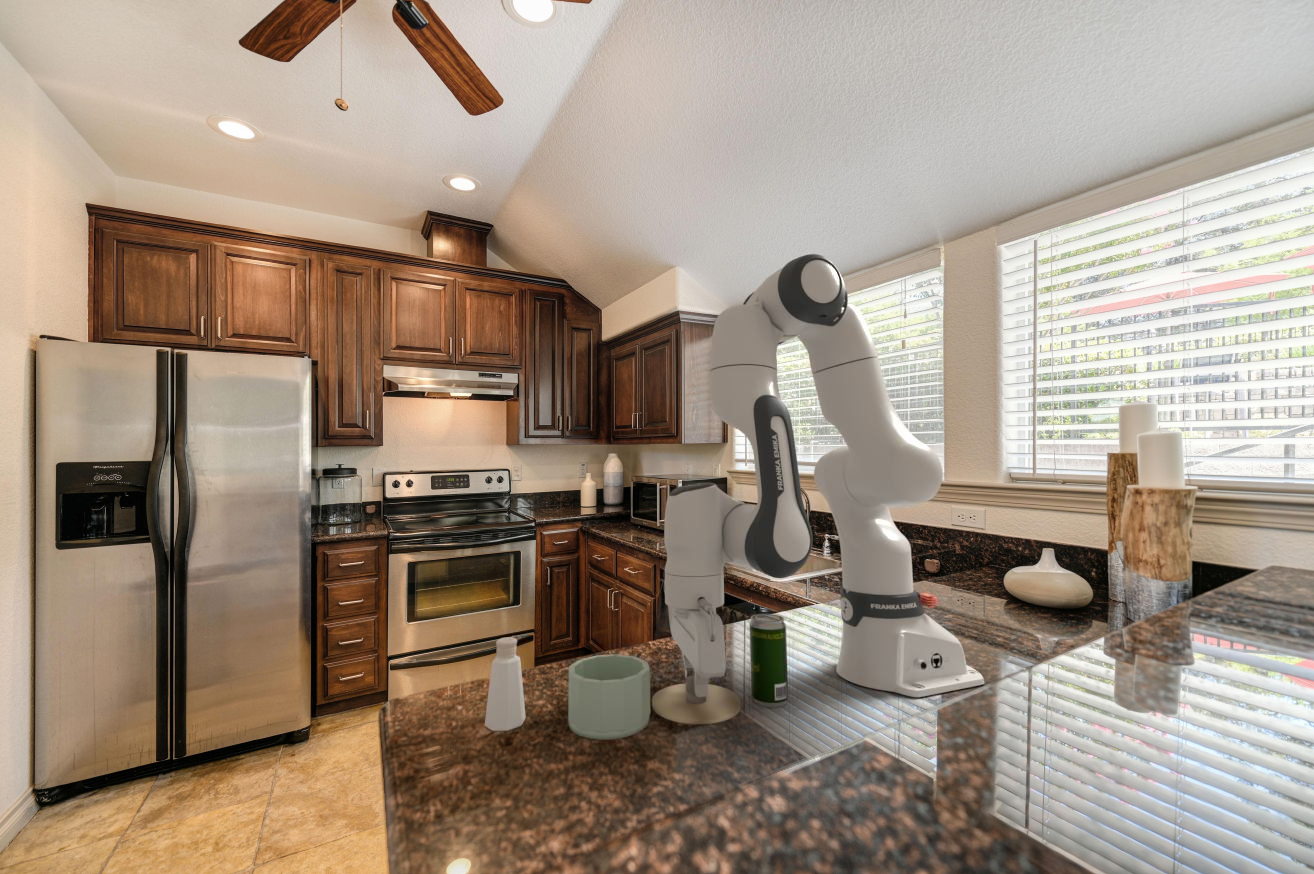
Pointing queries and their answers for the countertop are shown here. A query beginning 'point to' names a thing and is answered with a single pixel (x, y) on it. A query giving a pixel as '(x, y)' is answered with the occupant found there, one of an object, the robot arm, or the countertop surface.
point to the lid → (696, 704)
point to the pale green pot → (609, 696)
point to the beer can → (768, 660)
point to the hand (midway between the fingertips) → (696, 687)
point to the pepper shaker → (505, 689)
